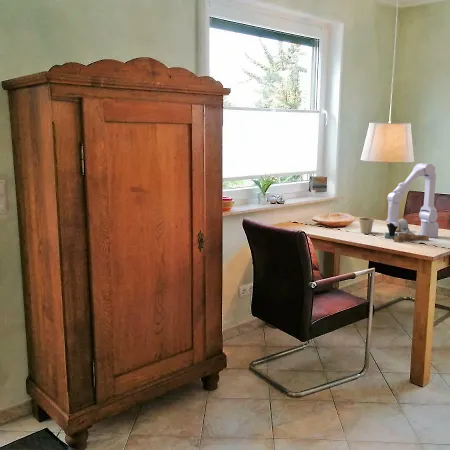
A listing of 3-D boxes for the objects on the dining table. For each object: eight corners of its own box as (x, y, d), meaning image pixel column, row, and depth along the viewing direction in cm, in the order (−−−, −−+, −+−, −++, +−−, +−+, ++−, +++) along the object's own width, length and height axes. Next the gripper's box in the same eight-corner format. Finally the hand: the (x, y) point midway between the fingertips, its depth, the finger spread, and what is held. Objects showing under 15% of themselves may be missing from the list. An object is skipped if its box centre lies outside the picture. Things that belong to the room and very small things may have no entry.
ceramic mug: (389, 231, 310) (390, 219, 309) (397, 229, 315) (398, 217, 313) (404, 234, 302) (405, 221, 300) (412, 232, 306) (413, 220, 305)
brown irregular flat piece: (422, 237, 291) (423, 232, 291) (432, 242, 279) (432, 236, 278) (386, 237, 291) (387, 232, 290) (395, 242, 278) (395, 237, 277)
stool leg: (407, 238, 287) (408, 231, 287) (407, 238, 285) (408, 232, 285) (385, 236, 291) (385, 230, 291) (384, 237, 289) (385, 231, 289)
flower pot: (354, 232, 305) (355, 218, 304) (363, 230, 311) (364, 217, 310) (367, 234, 298) (368, 220, 297) (376, 232, 304) (377, 219, 303)
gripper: (382, 211, 291) (380, 233, 293) (390, 215, 277) (388, 238, 279) (394, 211, 291) (392, 233, 293) (403, 215, 277) (401, 238, 279)
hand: (391, 236), depth 286 cm, fingers closed
